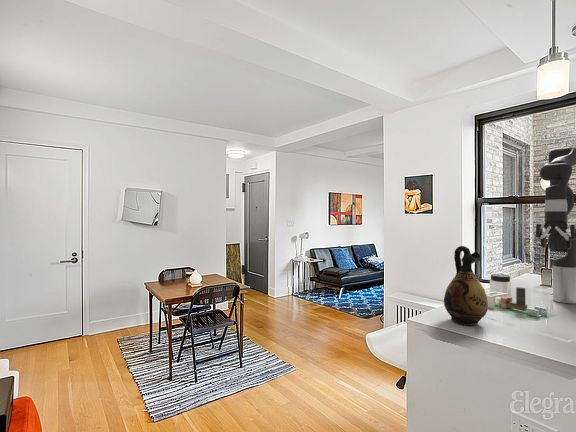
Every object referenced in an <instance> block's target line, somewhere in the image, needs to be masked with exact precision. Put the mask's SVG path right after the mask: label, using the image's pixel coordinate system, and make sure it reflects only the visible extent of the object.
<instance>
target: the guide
mask: <svg viewBox="0 0 576 432" xmlns="http://www.w3.org/2000/svg"><path fill="white" fill-rule="evenodd" d="M547 313H548V308H546V307H542V306H539V305H538V306H537V305H536V306H534V308H530V307H527V315H528V316H532V317H536V318H539V317H544V316H547Z"/></svg>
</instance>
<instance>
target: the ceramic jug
mask: <svg viewBox="0 0 576 432" xmlns="http://www.w3.org/2000/svg"><path fill="white" fill-rule="evenodd" d="M462 253H463V256H462V257H461V255H462ZM453 258H454V263H455V264H454V265H455V270H456V273H455V276H454V277H453V278H452V279H451V280H450V283H449V284H448V285H447V286H446V287H447V288H446V290H445V292H444V295H443V304H444V308H445V310H446V312H447V313H448V314H449V316H450V317H451V318H450V321H452V323H455V324H456V325H459V326H460V325H461V326H466V327H475V326H478V323H479V322H480V321H481V320H482V319H484V317H485V316H486V315H487V313H488V310H489V308H488V301H487V296H486V293H487V292H486V291H485V289H484V287H483V285H482V283H481V281H480V280H479V278H478V277H477V276H476V275H477V274H475V272H474V271H473V269H472V268H473V267H472V264H474V263H477V262H480V261H482V256H481V255H480V253H479V252H478V251H474V252H472V253H471V250H470V248H469V247H467V246H466V245H460V246H457V248H456V249H455V250H454V256H453Z"/></svg>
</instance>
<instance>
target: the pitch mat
mask: <svg viewBox="0 0 576 432" xmlns="http://www.w3.org/2000/svg"><path fill="white" fill-rule="evenodd" d="M489 309H490V310H494V311H496V312H501V313H505V314H509V315H512V316H515V317H520V318H523V319H527V320H529V321H530V320H531V321H535V322H536V321H539V320H545V319H547V318H552V317H557V316H558V315H557V314H553V313H549V312H547V316H544V317H539V318H536V317H532V316H528V315H527V311H521V310H517V309H513V308H502V307H501V306H497V305H495V308H492V307H488V310H489Z"/></svg>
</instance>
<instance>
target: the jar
mask: <svg viewBox="0 0 576 432" xmlns="http://www.w3.org/2000/svg"><path fill="white" fill-rule="evenodd" d="M489 292H500V293H509V297H512V281H511V276H510V275H508V274H504V273H503V274H501V273H492V274H490V279H489Z"/></svg>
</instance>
